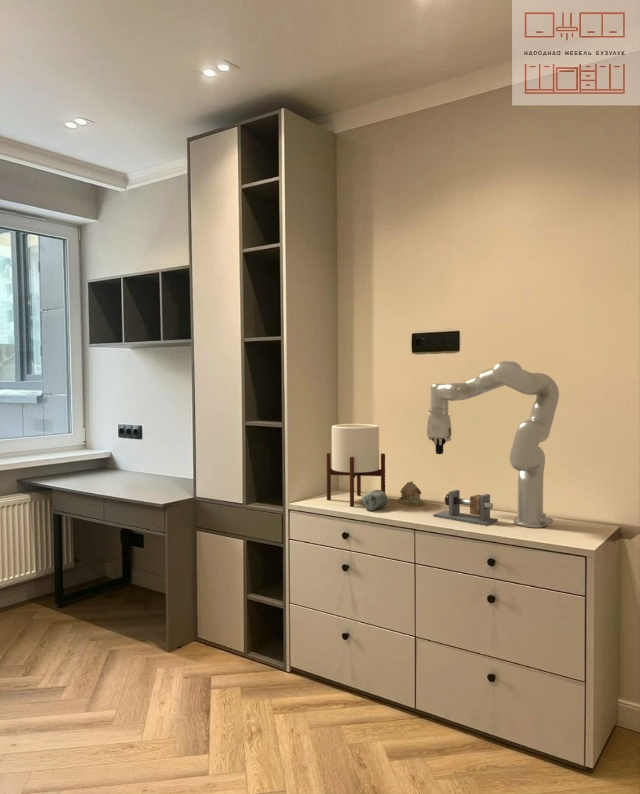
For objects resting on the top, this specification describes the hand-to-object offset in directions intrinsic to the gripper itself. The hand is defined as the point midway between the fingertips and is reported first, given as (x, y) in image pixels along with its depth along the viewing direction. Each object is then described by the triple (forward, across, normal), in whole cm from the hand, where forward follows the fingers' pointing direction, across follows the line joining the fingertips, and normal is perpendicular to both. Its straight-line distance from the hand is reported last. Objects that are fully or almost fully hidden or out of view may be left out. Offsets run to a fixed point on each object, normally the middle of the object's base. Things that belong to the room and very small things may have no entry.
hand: (439, 453), depth 270 cm
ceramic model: (+26, -20, +7) cm, 33 cm away
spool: (+25, -24, -15) cm, 38 cm away
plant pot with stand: (+25, -42, -7) cm, 50 cm away
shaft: (+21, +18, -6) cm, 28 cm away
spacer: (+22, +22, -6) cm, 32 cm away
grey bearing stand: (+25, +16, -6) cm, 30 cm away
